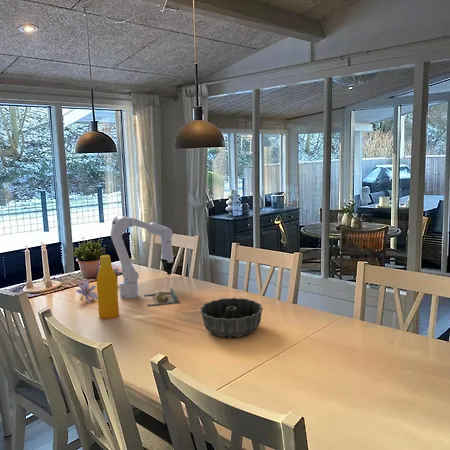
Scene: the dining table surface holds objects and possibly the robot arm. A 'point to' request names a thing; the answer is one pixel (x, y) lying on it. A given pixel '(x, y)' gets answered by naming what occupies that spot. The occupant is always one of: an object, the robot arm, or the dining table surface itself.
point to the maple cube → (160, 295)
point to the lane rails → (161, 303)
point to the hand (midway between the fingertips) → (167, 272)
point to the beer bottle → (107, 289)
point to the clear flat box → (167, 297)
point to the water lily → (87, 291)
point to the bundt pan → (231, 316)
